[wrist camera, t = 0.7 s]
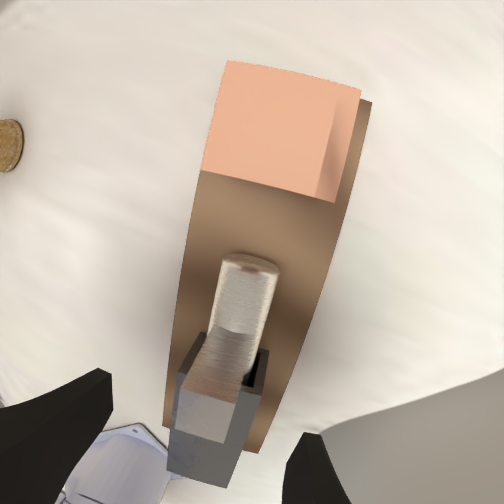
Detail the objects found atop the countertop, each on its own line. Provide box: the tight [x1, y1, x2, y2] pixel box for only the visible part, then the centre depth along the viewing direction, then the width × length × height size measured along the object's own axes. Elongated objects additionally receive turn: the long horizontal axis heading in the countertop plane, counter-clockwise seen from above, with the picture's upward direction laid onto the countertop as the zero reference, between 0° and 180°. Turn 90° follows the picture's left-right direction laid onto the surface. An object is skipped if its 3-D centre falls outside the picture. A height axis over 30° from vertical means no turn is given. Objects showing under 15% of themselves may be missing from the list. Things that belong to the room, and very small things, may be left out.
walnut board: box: [162, 99, 372, 454], centre depth 19 cm, size 26×8×1 cm, turn 167°
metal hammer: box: [175, 254, 280, 444], centre depth 15 cm, size 14×3×8 cm, turn 167°
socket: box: [200, 60, 362, 203], centre depth 13 cm, size 4×5×5 cm
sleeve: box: [166, 331, 270, 488], centre depth 18 cm, size 10×4×4 cm, turn 167°
